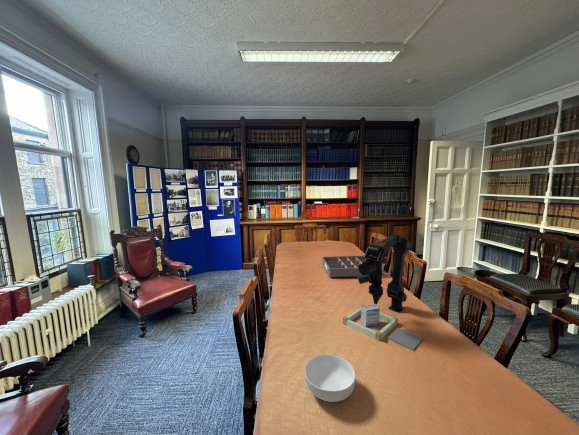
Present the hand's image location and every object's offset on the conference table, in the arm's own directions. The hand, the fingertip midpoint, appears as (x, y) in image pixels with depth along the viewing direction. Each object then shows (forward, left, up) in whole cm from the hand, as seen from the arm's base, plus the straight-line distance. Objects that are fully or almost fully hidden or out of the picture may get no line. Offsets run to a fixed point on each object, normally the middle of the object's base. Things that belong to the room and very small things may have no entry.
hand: (375, 299), depth 118 cm
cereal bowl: (+48, +9, -13) cm, 51 cm away
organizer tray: (-56, -51, -13) cm, 77 cm away
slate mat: (+2, +16, -12) cm, 20 cm away
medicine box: (+2, -1, -13) cm, 13 cm away
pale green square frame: (+2, -1, -12) cm, 13 cm away
